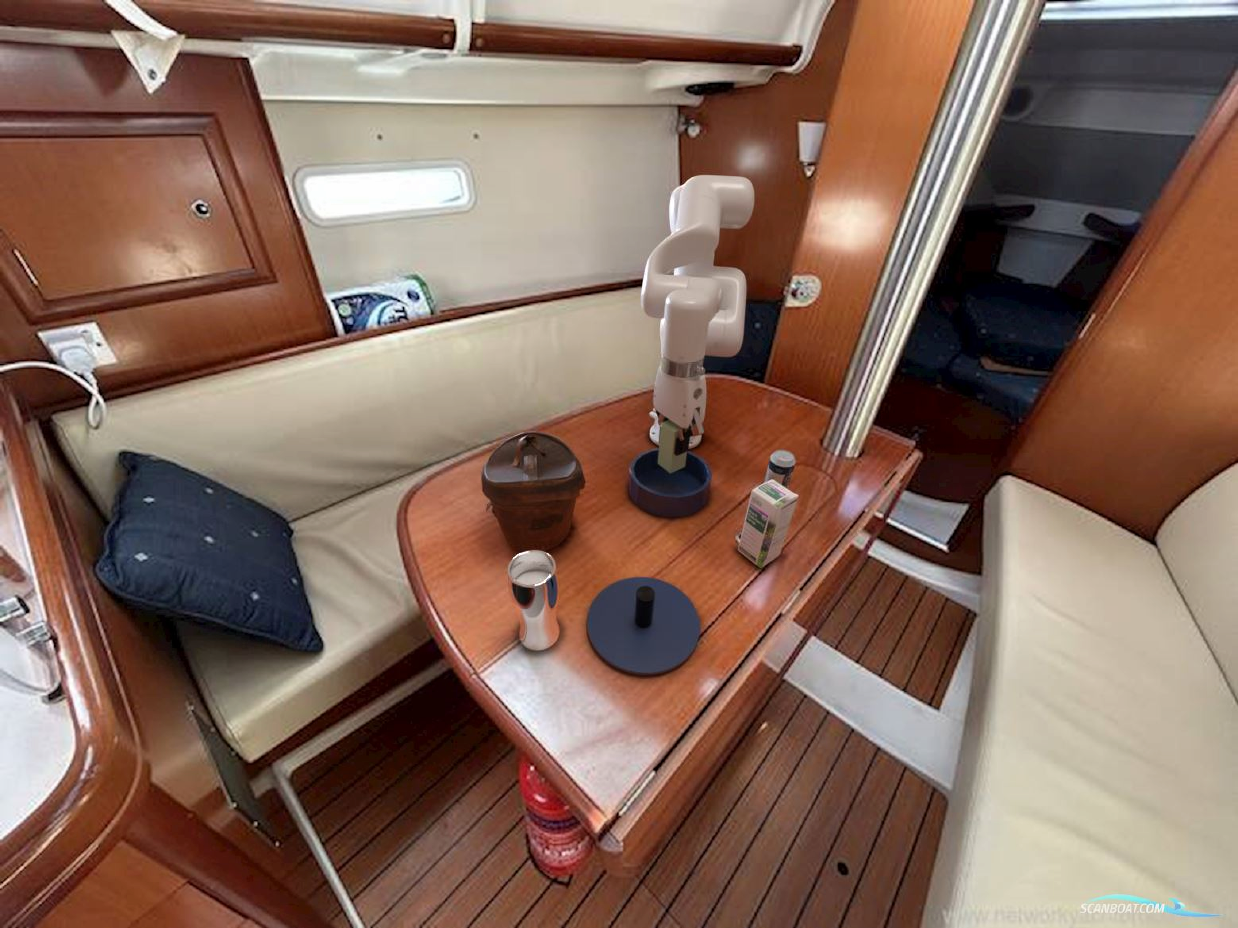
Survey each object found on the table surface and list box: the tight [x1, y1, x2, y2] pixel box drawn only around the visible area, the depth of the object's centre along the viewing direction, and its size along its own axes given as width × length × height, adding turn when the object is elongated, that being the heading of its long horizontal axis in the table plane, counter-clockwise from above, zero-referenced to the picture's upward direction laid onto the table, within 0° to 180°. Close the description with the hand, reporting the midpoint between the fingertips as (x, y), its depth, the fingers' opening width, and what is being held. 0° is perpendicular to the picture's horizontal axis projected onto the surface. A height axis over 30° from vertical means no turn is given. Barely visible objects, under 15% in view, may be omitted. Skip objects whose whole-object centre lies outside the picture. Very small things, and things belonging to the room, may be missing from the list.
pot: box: [628, 447, 713, 519], centre depth 104 cm, size 17×17×5 cm
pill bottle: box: [763, 449, 797, 490], centre depth 100 cm, size 5×5×12 cm
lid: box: [586, 576, 701, 676], centre depth 77 cm, size 18×18×8 cm
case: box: [480, 430, 587, 552], centre depth 91 cm, size 18×20×18 cm
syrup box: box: [737, 479, 799, 569], centre depth 88 cm, size 6×6×14 cm
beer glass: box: [506, 550, 560, 652], centre depth 73 cm, size 7×7×15 cm
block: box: [658, 420, 687, 473], centre depth 100 cm, size 4×4×10 cm
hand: (673, 446), depth 100 cm, fingers closed on block, 4 cm apart
